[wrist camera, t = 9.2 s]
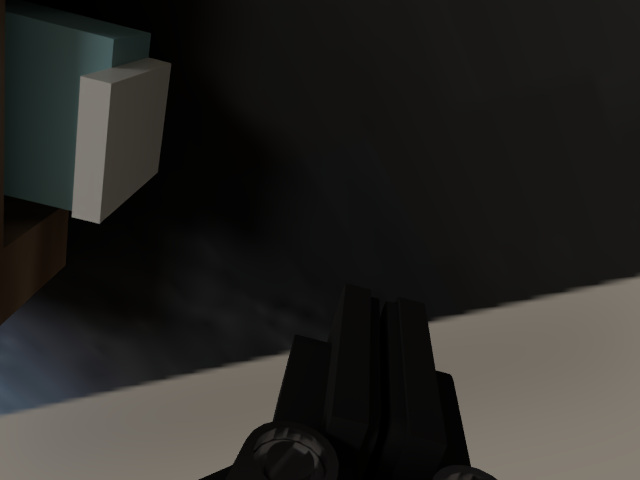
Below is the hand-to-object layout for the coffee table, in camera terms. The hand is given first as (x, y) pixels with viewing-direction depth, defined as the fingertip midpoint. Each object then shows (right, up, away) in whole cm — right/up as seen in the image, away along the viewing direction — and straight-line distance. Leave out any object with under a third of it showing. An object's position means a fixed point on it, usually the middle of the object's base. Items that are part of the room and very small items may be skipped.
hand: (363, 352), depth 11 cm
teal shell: (-16, +10, +13) cm, 22 cm away
